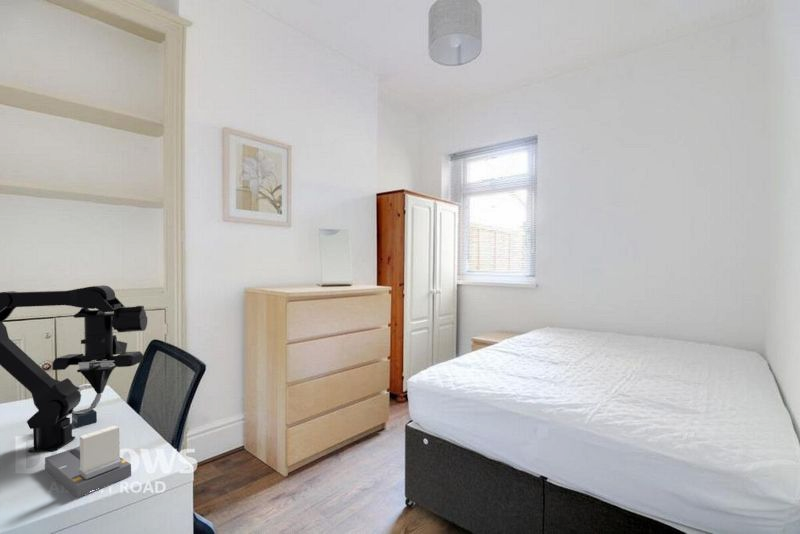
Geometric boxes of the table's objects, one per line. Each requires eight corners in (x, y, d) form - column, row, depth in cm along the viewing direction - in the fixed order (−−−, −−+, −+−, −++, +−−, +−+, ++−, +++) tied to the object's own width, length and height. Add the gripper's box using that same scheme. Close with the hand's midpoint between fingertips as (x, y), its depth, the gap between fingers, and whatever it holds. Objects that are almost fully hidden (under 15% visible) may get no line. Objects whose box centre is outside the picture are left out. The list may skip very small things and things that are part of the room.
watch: (63, 425, 106) (62, 387, 106) (98, 416, 112) (97, 379, 112) (68, 430, 102) (67, 390, 102) (104, 420, 109) (103, 383, 109)
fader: (78, 473, 75) (78, 435, 75) (113, 460, 80) (113, 424, 80) (86, 479, 73) (85, 439, 73) (121, 465, 78) (121, 428, 78)
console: (45, 468, 83) (44, 457, 83) (95, 451, 90) (94, 440, 90) (77, 498, 72) (77, 484, 72) (131, 475, 79) (131, 463, 79)
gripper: (153, 327, 106) (154, 381, 106) (82, 329, 104) (83, 385, 104) (130, 334, 95) (131, 395, 95) (49, 337, 93) (51, 399, 93)
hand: (100, 393), depth 97 cm, fingers closed
